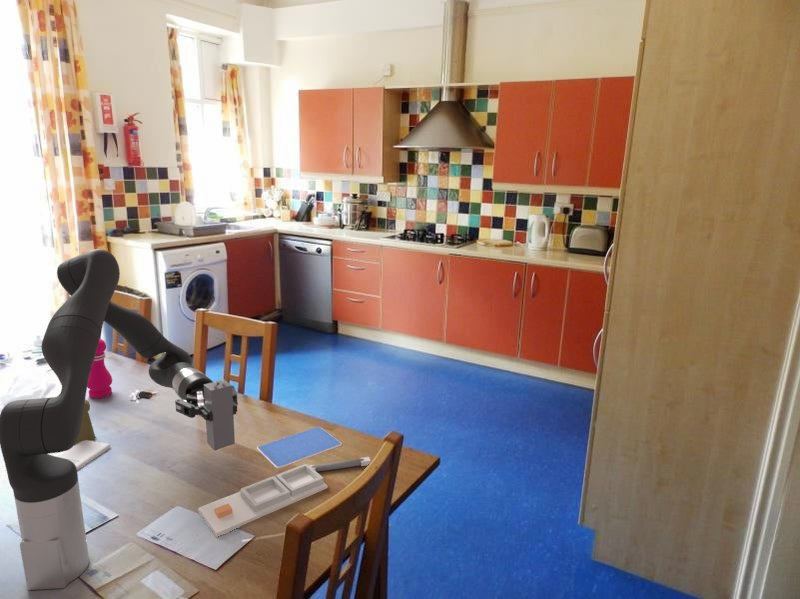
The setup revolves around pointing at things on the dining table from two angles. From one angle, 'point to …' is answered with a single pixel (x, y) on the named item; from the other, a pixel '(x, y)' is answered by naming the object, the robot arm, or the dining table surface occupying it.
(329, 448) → the tablet computer
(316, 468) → the grey bar
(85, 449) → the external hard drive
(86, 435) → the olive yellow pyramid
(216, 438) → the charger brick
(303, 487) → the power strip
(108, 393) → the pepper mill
